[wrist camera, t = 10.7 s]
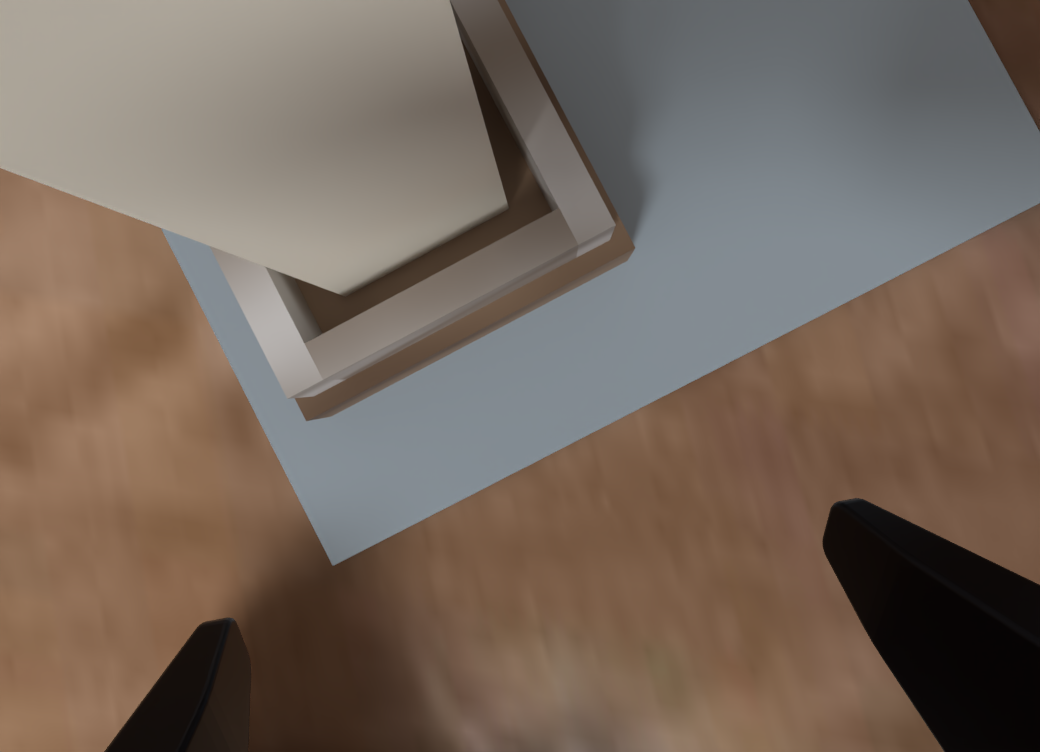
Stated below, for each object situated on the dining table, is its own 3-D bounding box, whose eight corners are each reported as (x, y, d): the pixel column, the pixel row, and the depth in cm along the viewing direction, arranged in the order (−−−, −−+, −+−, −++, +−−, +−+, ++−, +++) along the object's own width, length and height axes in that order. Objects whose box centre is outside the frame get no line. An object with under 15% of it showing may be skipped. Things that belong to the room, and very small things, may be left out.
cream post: (509, 208, 18) (384, -228, 5) (345, 296, 18) (-182, 100, 5) (422, 45, 18) (81, -799, 5) (262, 134, 18) (-458, -455, 5)
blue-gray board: (1056, 192, 20) (1070, 187, 19) (338, 561, 21) (332, 566, 20) (766, -341, 20) (772, -359, 20) (78, 50, 21) (67, 43, 21)
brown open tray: (627, 260, 20) (644, 233, 16) (331, 416, 20) (278, 426, 16) (471, -37, 20) (451, -133, 16) (181, 125, 20) (96, 68, 17)
